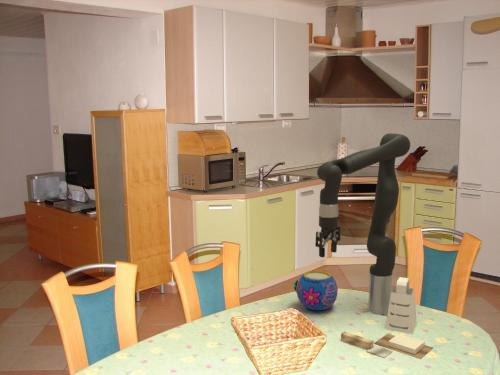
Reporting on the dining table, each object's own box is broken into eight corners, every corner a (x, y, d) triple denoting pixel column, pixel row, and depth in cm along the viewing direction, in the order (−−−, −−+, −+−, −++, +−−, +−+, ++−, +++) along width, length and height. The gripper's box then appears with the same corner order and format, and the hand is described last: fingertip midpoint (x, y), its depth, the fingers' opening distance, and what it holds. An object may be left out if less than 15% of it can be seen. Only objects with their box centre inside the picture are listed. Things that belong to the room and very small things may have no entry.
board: (387, 336, 201) (387, 333, 201) (433, 350, 189) (433, 347, 189) (373, 346, 193) (373, 343, 193) (420, 361, 181) (420, 359, 181)
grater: (384, 331, 205) (386, 282, 202) (390, 321, 214) (391, 274, 211) (412, 336, 200) (415, 286, 197) (416, 326, 210) (419, 277, 206)
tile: (398, 333, 196) (424, 341, 189) (398, 338, 196) (424, 346, 190) (388, 341, 190) (415, 349, 183) (388, 346, 190) (414, 354, 184)
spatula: (338, 343, 194) (338, 335, 193) (346, 337, 198) (347, 329, 198) (384, 359, 182) (384, 350, 181) (392, 353, 186) (392, 344, 186)
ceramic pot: (314, 297, 241) (314, 265, 238) (345, 308, 228) (346, 275, 225) (287, 307, 229) (287, 274, 227) (319, 319, 216) (319, 284, 214)
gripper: (330, 210, 215) (329, 249, 218) (310, 216, 204) (309, 256, 207) (346, 212, 210) (345, 252, 213) (326, 219, 200) (325, 260, 202)
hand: (327, 254), depth 210 cm, fingers open, 8 cm apart
